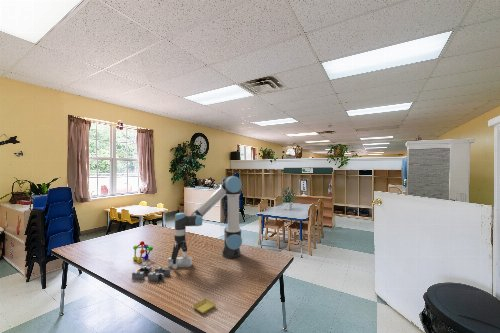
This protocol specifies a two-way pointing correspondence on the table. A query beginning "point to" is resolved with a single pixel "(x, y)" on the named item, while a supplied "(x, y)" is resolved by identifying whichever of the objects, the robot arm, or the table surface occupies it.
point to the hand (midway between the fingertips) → (179, 264)
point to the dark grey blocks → (150, 273)
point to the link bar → (181, 262)
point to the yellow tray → (204, 305)
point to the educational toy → (142, 252)
